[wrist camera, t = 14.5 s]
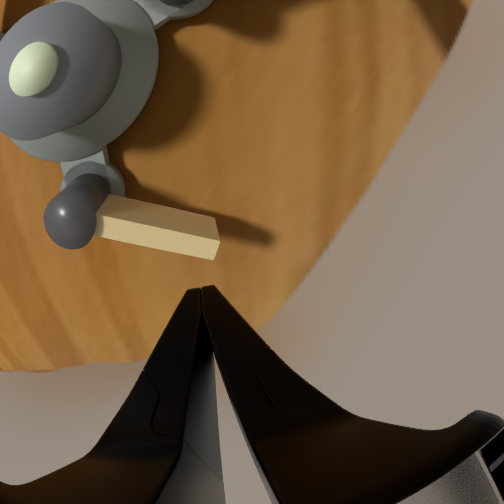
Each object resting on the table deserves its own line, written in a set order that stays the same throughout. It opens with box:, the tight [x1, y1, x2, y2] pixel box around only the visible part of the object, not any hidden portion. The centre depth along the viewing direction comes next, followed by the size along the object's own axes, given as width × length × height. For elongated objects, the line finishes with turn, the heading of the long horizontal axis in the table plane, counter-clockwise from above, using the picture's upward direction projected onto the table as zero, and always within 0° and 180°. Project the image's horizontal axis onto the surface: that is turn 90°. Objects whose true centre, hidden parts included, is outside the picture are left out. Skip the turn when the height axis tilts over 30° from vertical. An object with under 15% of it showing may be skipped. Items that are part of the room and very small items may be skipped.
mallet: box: [44, 173, 220, 260], centre depth 15 cm, size 10×3×4 cm, turn 70°
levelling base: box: [0, 0, 213, 197], centre depth 11 cm, size 18×16×6 cm
